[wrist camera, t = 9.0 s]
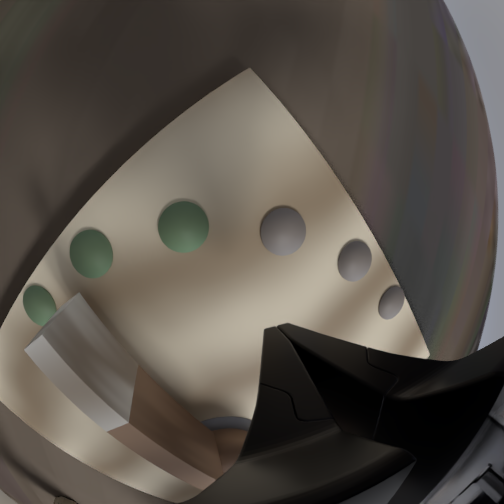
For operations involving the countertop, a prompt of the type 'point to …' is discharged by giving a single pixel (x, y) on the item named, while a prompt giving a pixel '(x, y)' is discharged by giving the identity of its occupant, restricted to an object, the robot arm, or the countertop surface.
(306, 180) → the board
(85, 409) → the peg
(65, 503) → the handle
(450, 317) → the countertop surface
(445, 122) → the countertop surface
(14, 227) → the countertop surface
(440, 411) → the robot arm
